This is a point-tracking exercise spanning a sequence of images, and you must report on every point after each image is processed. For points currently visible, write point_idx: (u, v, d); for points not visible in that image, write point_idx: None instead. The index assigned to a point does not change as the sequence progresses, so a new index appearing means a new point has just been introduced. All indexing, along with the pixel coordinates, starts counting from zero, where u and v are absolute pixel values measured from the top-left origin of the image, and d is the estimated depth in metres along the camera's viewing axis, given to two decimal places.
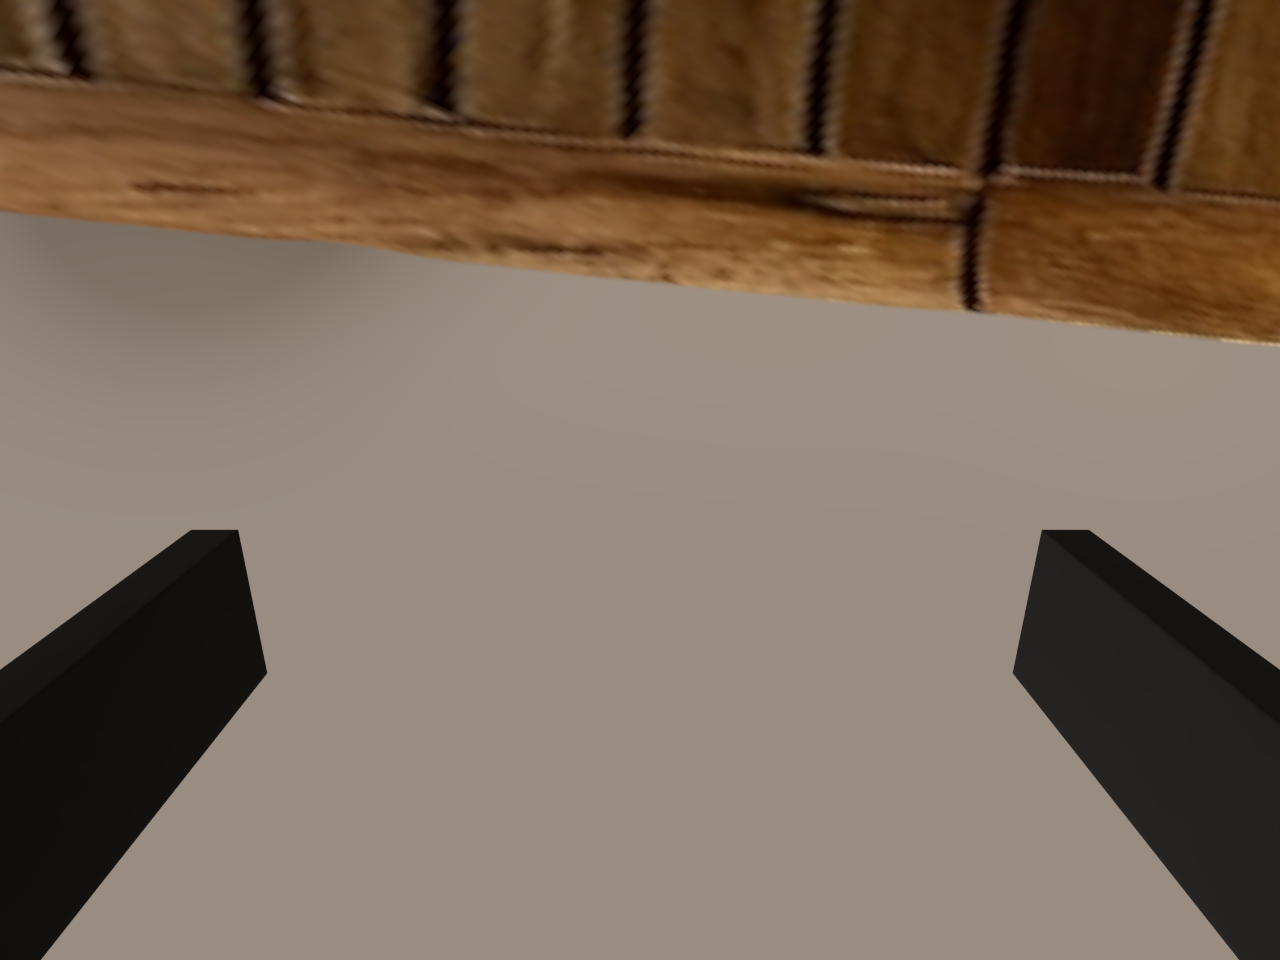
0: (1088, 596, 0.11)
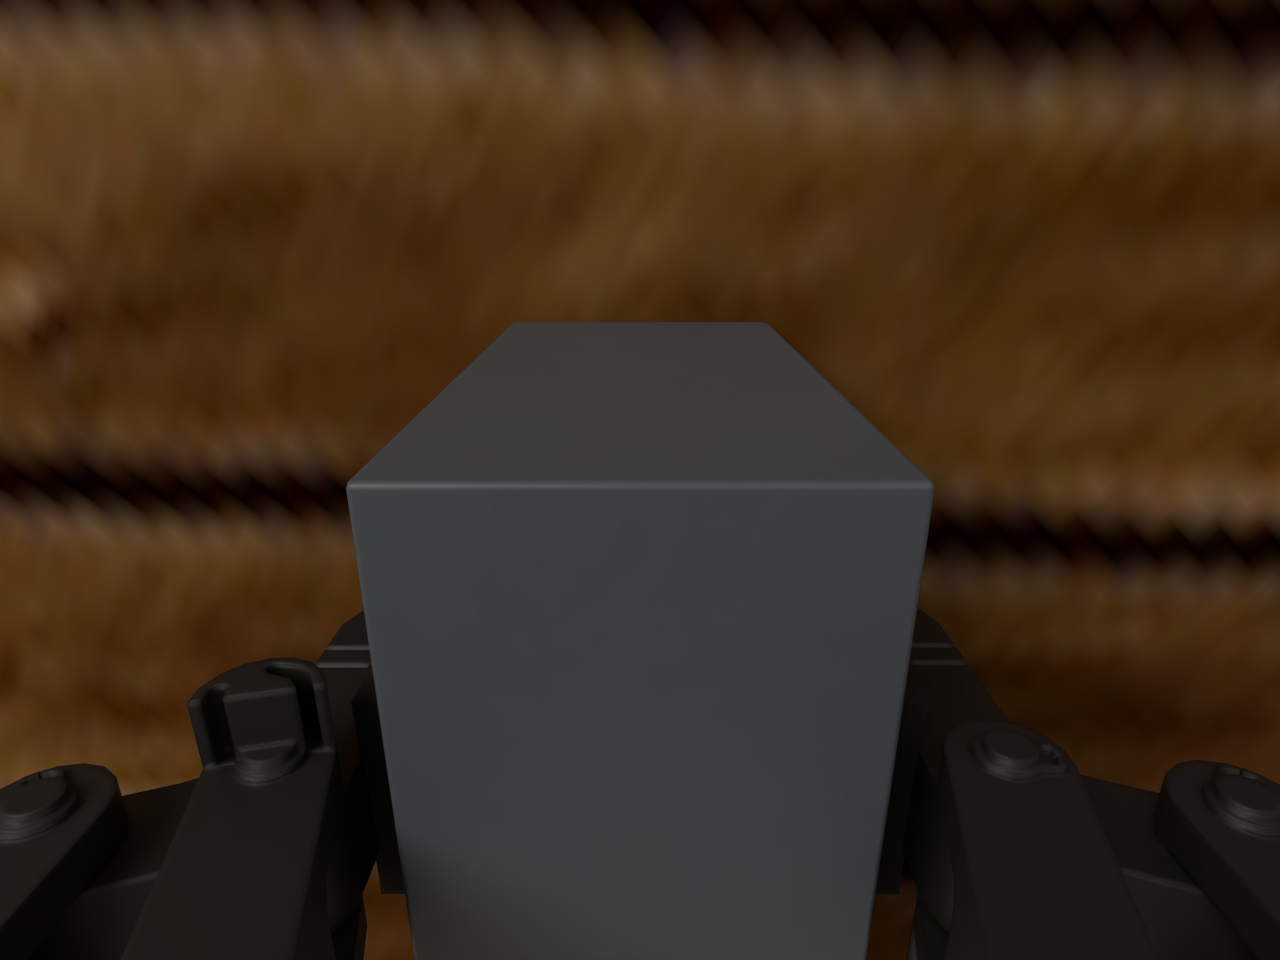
0: None
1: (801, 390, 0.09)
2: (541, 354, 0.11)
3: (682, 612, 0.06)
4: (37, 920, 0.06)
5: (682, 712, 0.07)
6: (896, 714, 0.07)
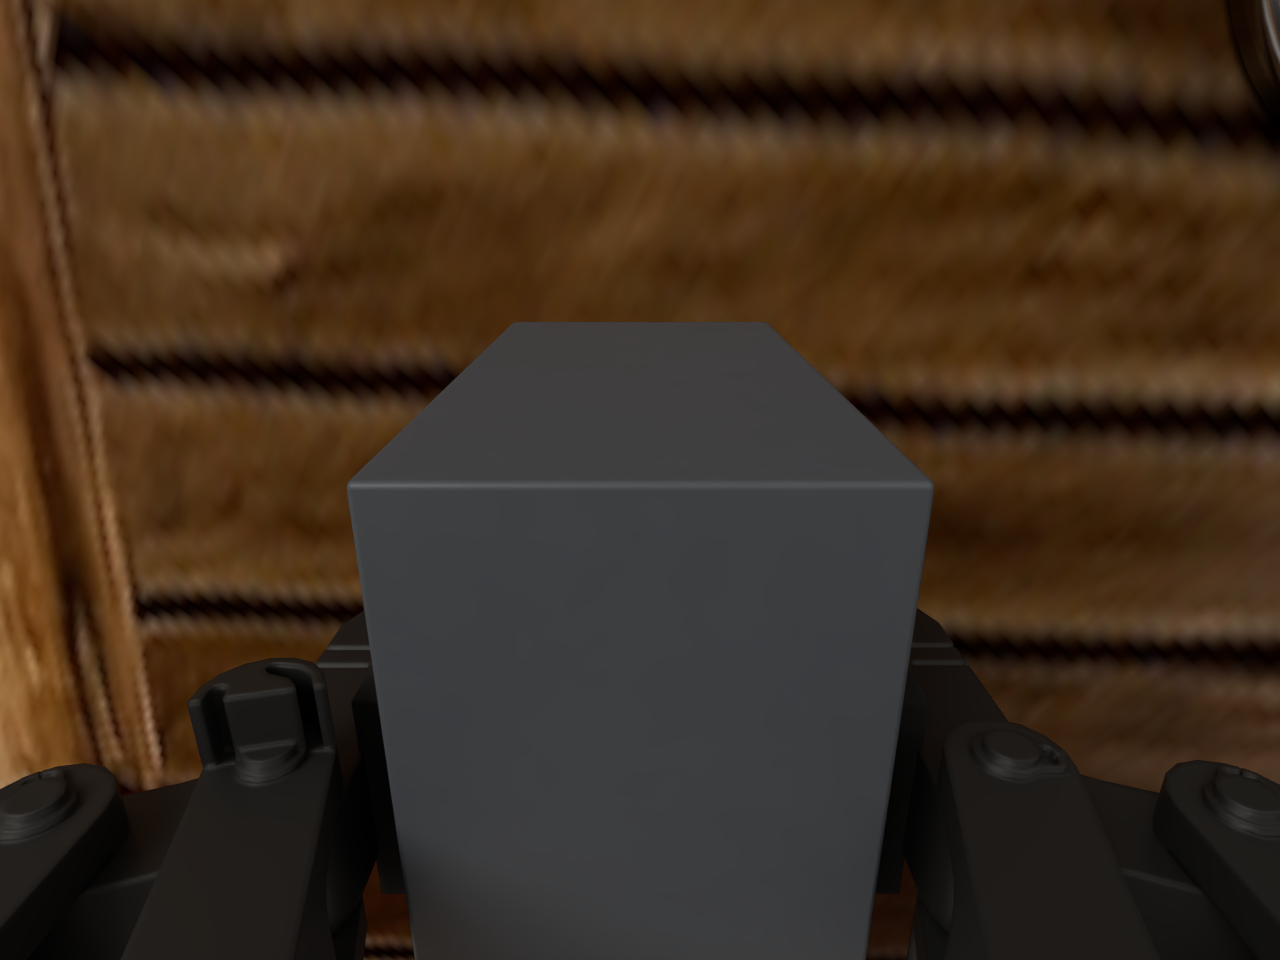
0: None
1: (801, 390, 0.09)
2: (541, 354, 0.11)
3: (682, 611, 0.06)
4: (37, 919, 0.06)
5: (682, 711, 0.07)
6: (896, 714, 0.07)
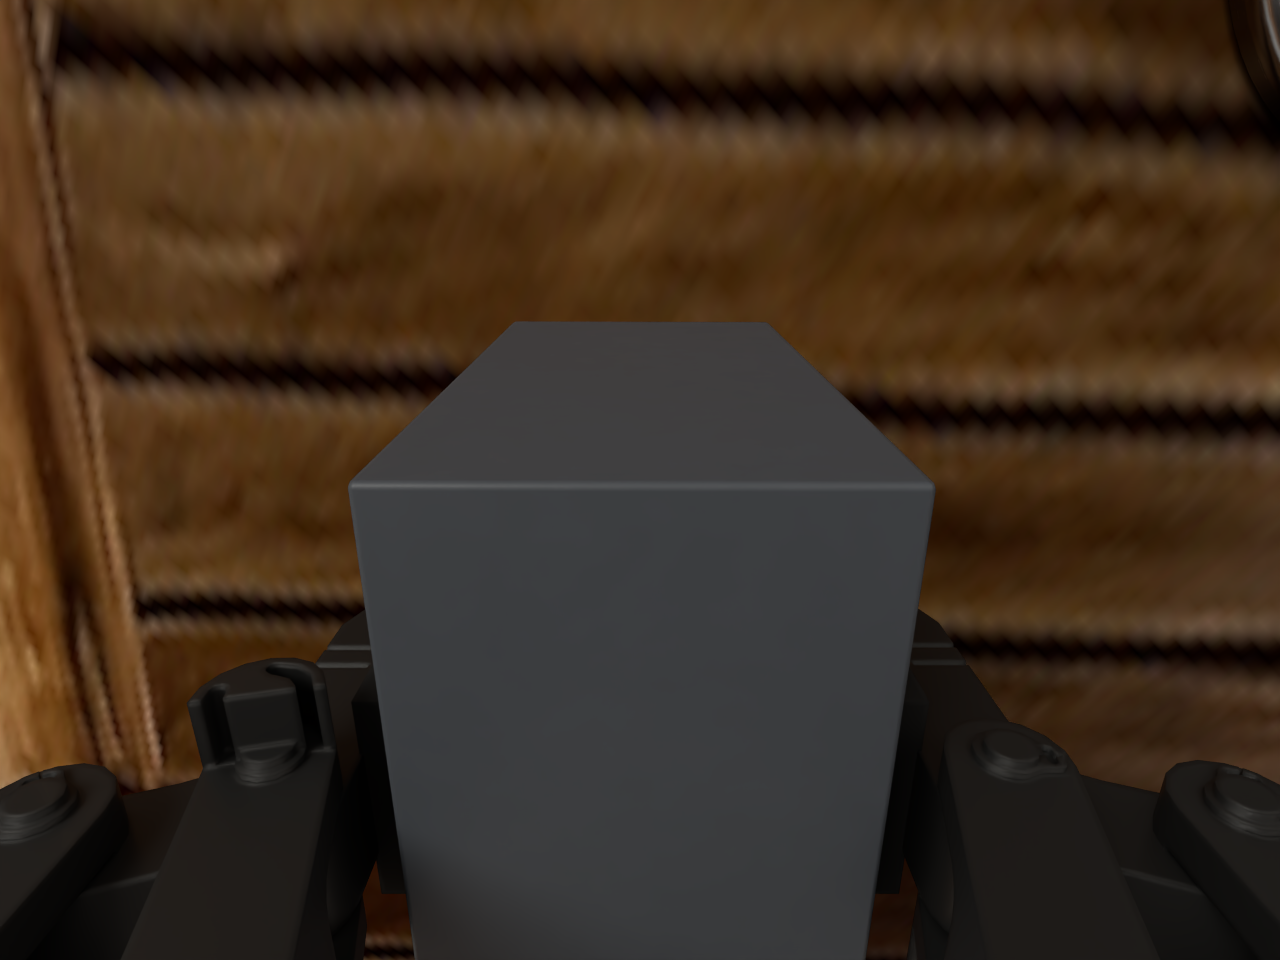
0: None
1: (802, 391, 0.09)
2: (542, 354, 0.11)
3: (683, 612, 0.06)
4: (37, 920, 0.06)
5: (682, 712, 0.07)
6: (896, 715, 0.07)
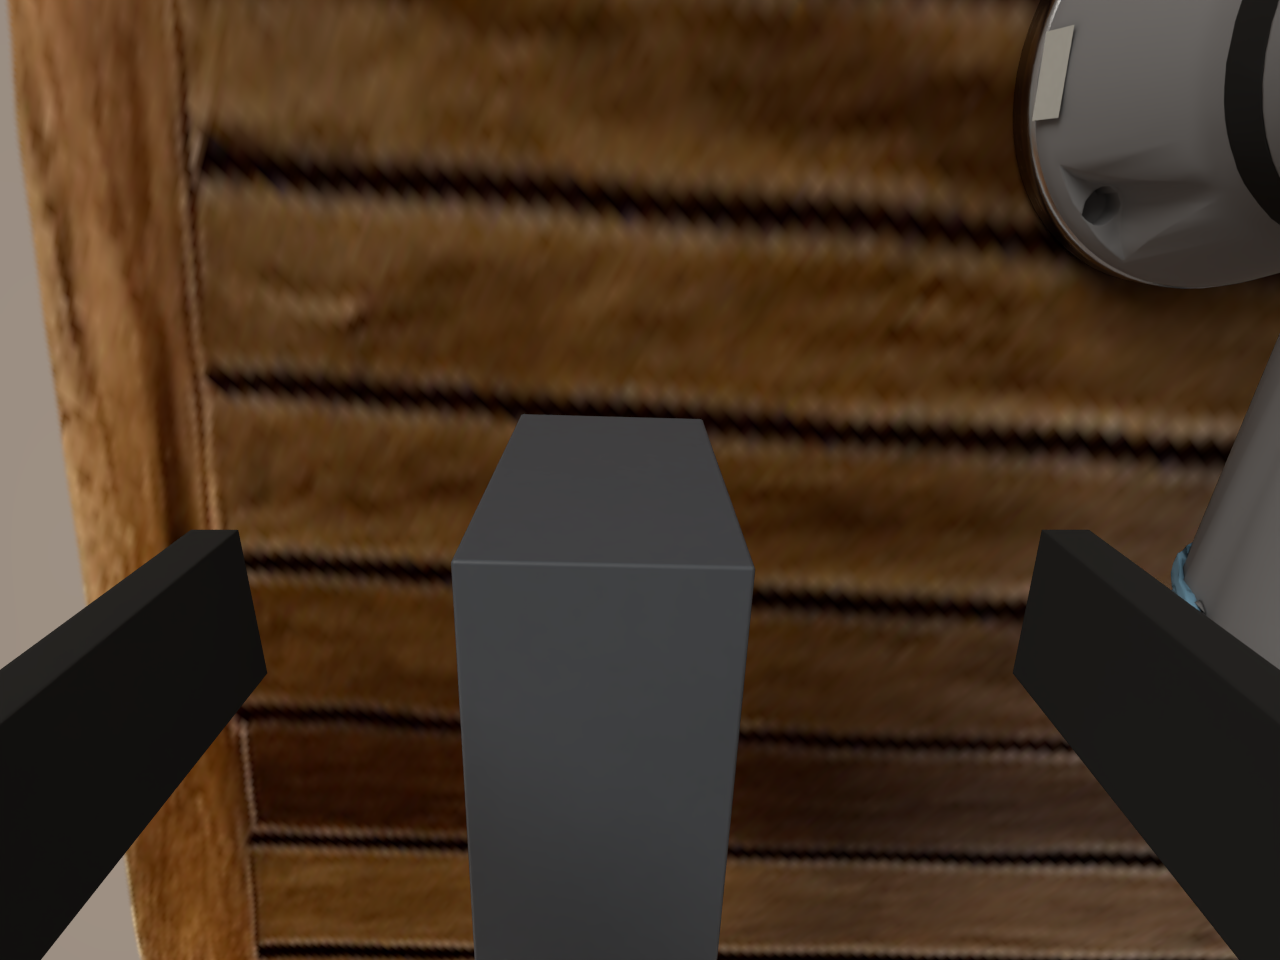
0: (1089, 596, 0.11)
1: (706, 493, 0.14)
2: (545, 453, 0.16)
3: (625, 630, 0.12)
4: None
5: (625, 683, 0.12)
6: (739, 686, 0.12)
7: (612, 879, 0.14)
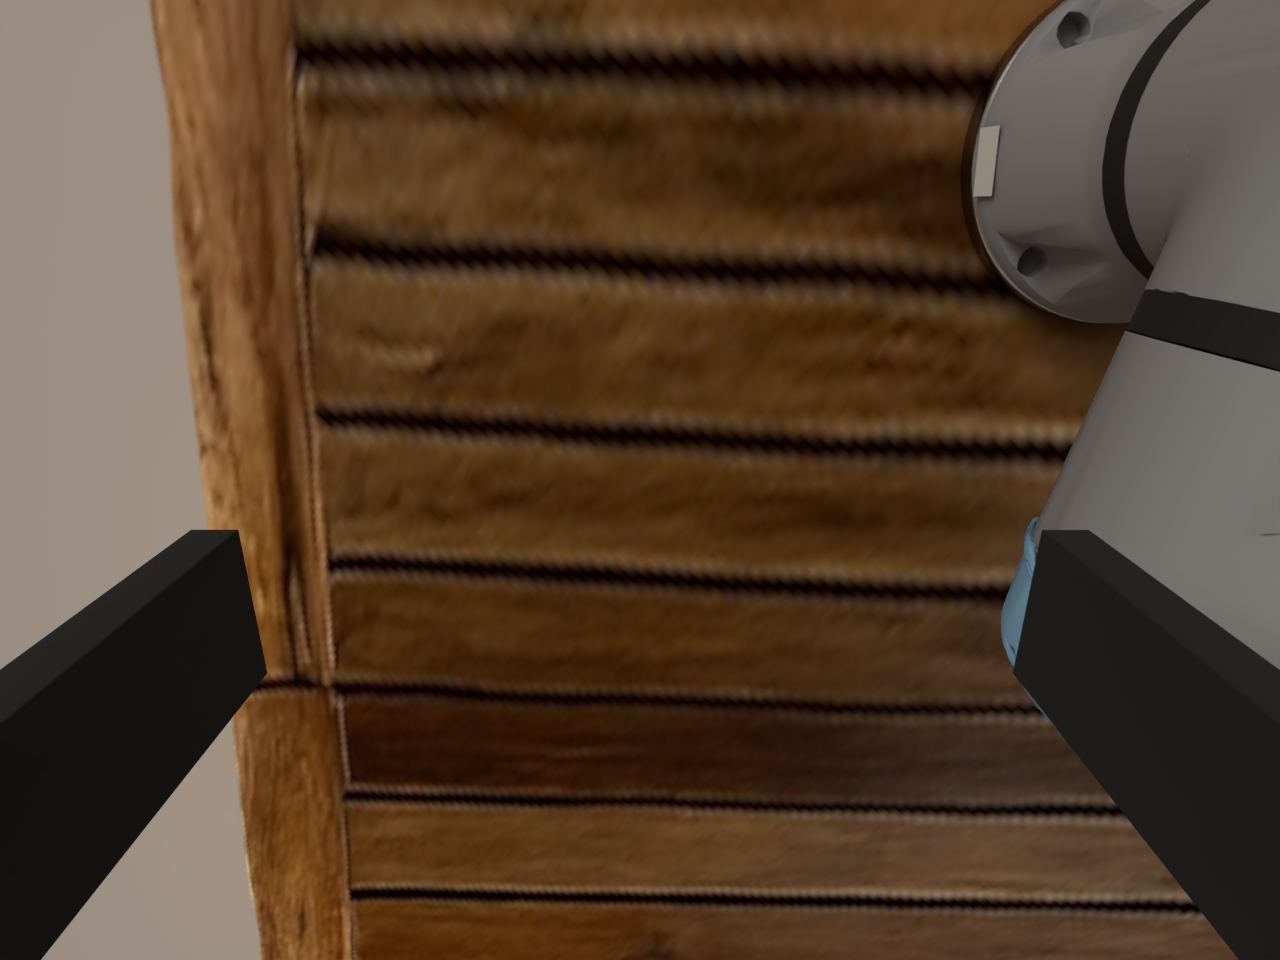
0: (1089, 596, 0.11)
1: None
2: None
3: None
4: None
5: None
6: None
7: None
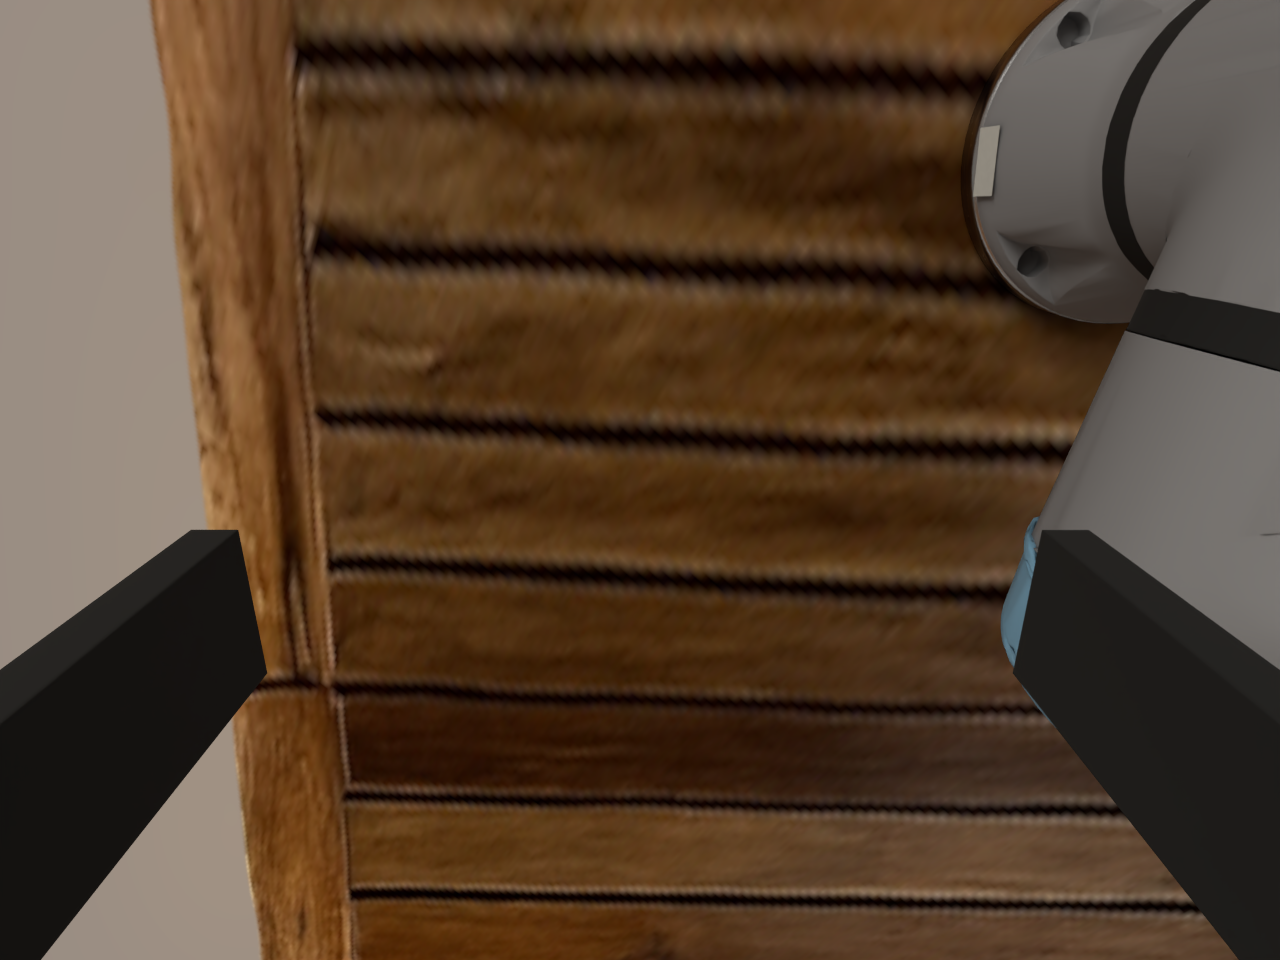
0: (1089, 596, 0.11)
1: None
2: None
3: None
4: None
5: None
6: None
7: None
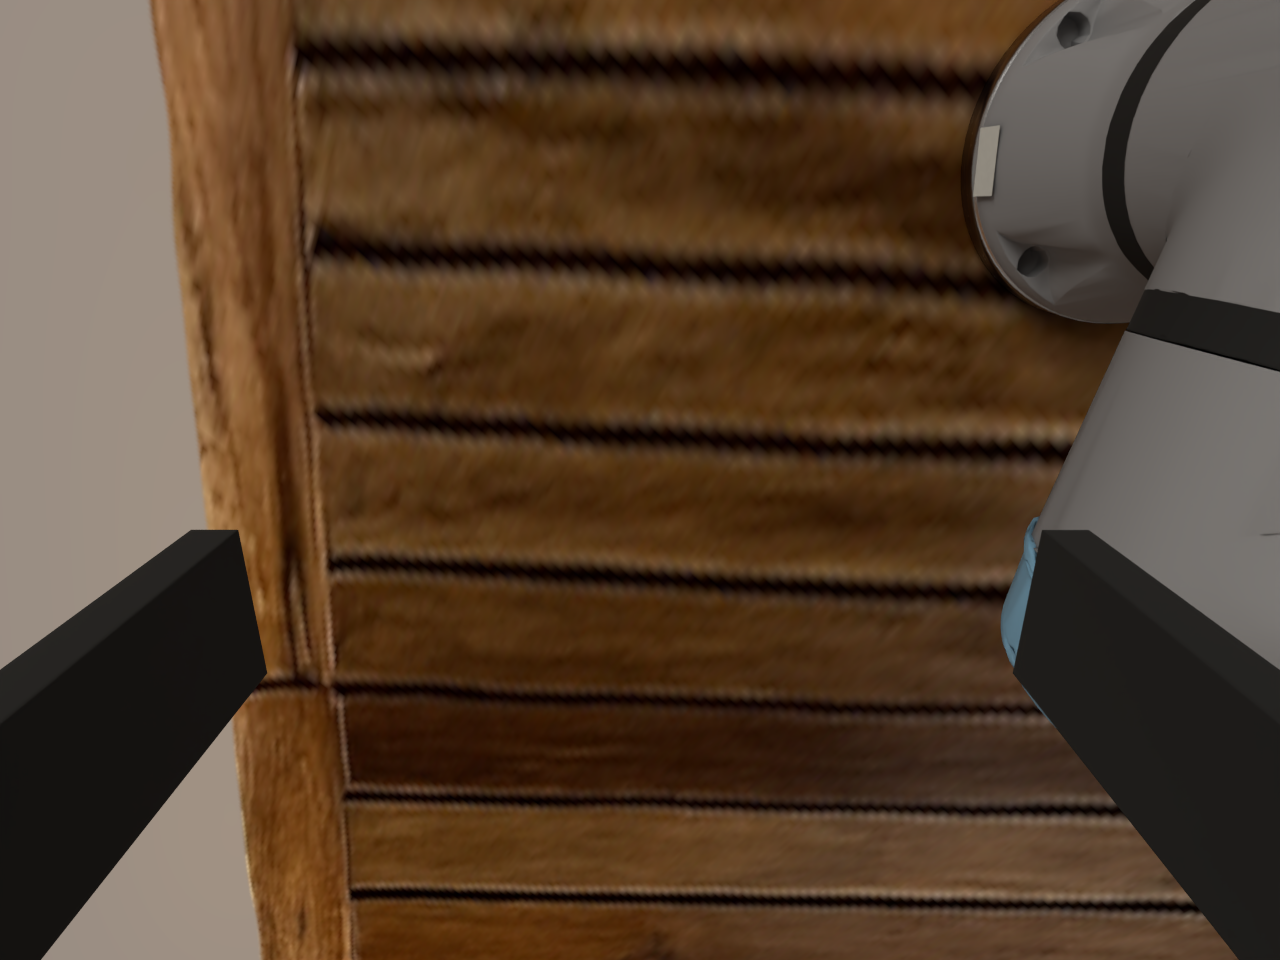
0: (1089, 596, 0.11)
1: None
2: None
3: None
4: None
5: None
6: None
7: None
